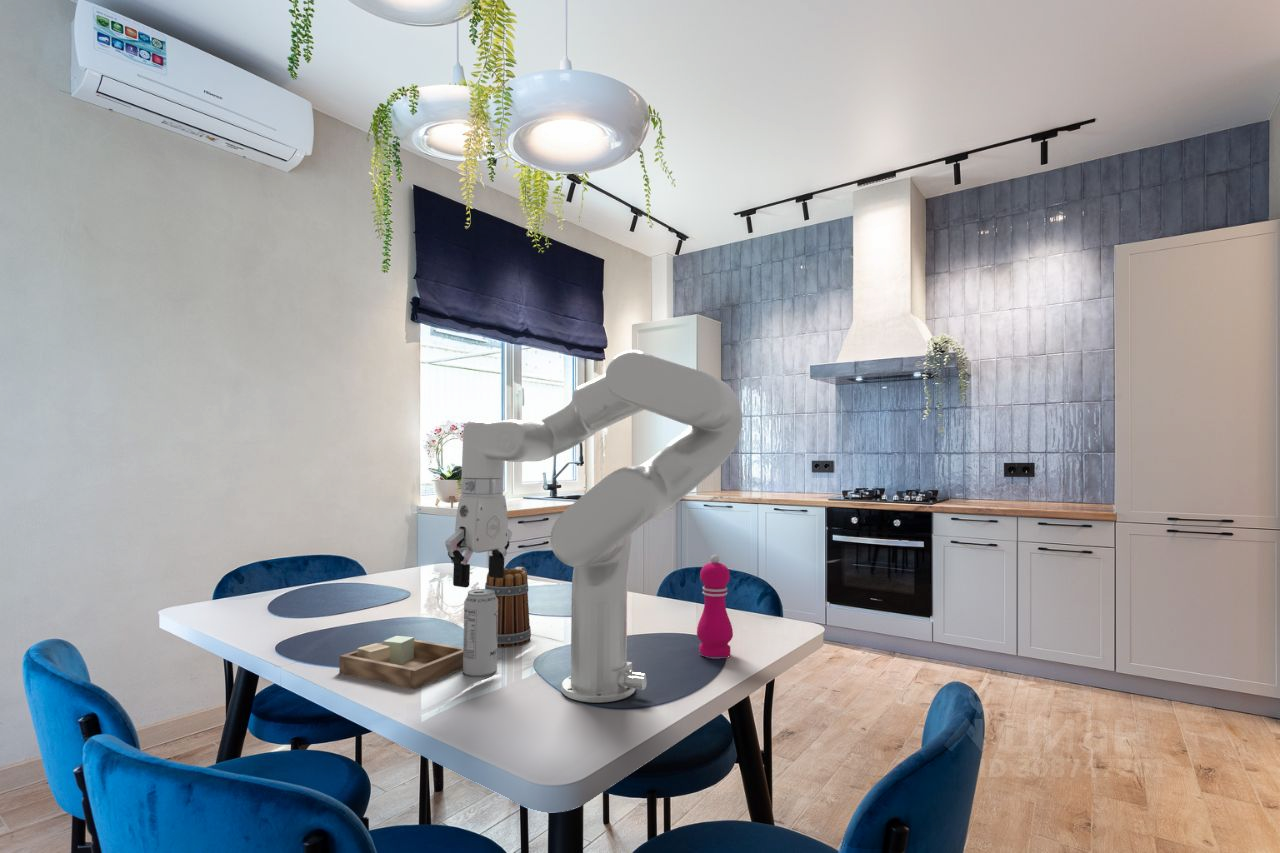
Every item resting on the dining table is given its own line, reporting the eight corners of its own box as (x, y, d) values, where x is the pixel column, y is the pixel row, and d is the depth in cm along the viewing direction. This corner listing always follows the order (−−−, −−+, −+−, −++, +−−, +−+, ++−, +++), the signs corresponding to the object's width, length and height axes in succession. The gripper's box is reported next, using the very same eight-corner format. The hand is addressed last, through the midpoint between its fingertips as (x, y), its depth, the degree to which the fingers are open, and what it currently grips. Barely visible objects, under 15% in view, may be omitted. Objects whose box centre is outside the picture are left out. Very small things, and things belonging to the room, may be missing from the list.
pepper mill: (715, 662, 128) (715, 558, 129) (689, 653, 134) (689, 554, 135) (740, 655, 133) (740, 555, 134) (714, 647, 138) (714, 551, 139)
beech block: (389, 668, 121) (390, 646, 122) (370, 674, 118) (370, 652, 118) (376, 664, 124) (376, 643, 124) (356, 670, 120) (357, 648, 121)
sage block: (413, 658, 128) (414, 637, 128) (400, 664, 124) (401, 642, 124) (395, 656, 129) (396, 635, 129) (382, 662, 125) (383, 641, 125)
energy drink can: (499, 678, 119) (500, 593, 119) (464, 682, 116) (466, 596, 117) (494, 668, 124) (495, 587, 125) (460, 671, 122) (462, 589, 123)
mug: (519, 652, 134) (520, 577, 135) (471, 648, 136) (472, 575, 137) (546, 631, 150) (546, 565, 150) (502, 629, 152) (503, 563, 152)
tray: (470, 668, 124) (470, 648, 124) (414, 692, 111) (414, 670, 111) (398, 655, 132) (399, 636, 132) (339, 676, 119) (339, 655, 119)
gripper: (466, 491, 112) (463, 592, 112) (526, 487, 128) (524, 576, 127) (433, 489, 116) (429, 587, 115) (495, 485, 131) (492, 572, 130)
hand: (479, 581), depth 121 cm, fingers open, 9 cm apart
